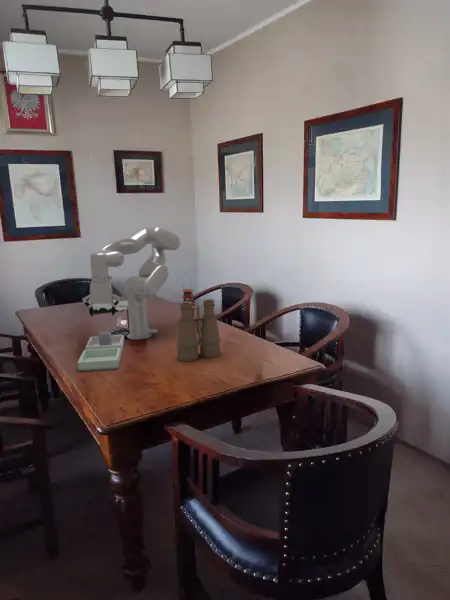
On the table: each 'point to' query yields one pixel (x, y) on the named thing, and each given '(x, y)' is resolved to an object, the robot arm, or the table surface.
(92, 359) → the bin
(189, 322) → the binoculars
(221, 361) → the table surface
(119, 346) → the bin
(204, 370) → the table surface
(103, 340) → the stone block
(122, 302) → the topographic map model
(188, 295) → the lantern
